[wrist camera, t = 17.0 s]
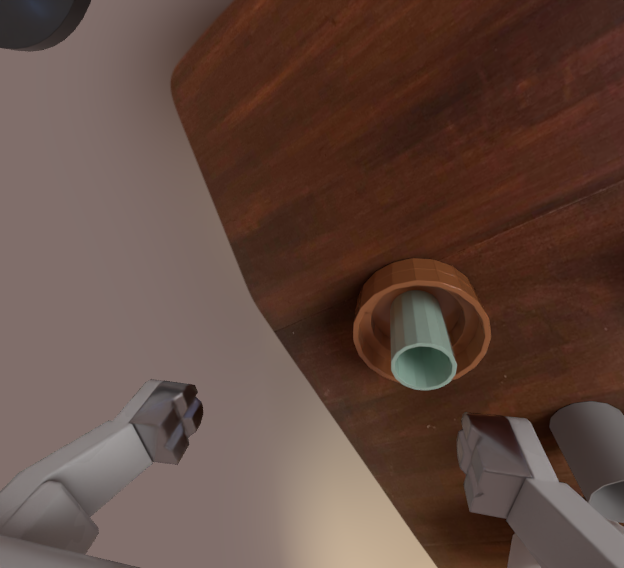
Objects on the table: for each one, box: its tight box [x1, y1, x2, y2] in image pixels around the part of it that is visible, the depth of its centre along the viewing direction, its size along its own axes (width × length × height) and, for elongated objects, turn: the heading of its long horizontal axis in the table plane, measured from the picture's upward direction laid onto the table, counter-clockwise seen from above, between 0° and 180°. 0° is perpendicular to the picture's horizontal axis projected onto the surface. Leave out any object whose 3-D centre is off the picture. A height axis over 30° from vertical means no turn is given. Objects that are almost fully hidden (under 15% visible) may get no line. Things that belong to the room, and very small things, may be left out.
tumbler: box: [390, 290, 457, 390], centre depth 35 cm, size 6×6×10 cm
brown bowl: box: [353, 258, 491, 383], centre depth 37 cm, size 14×14×6 cm
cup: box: [549, 401, 624, 523], centre depth 38 cm, size 8×8×10 cm
